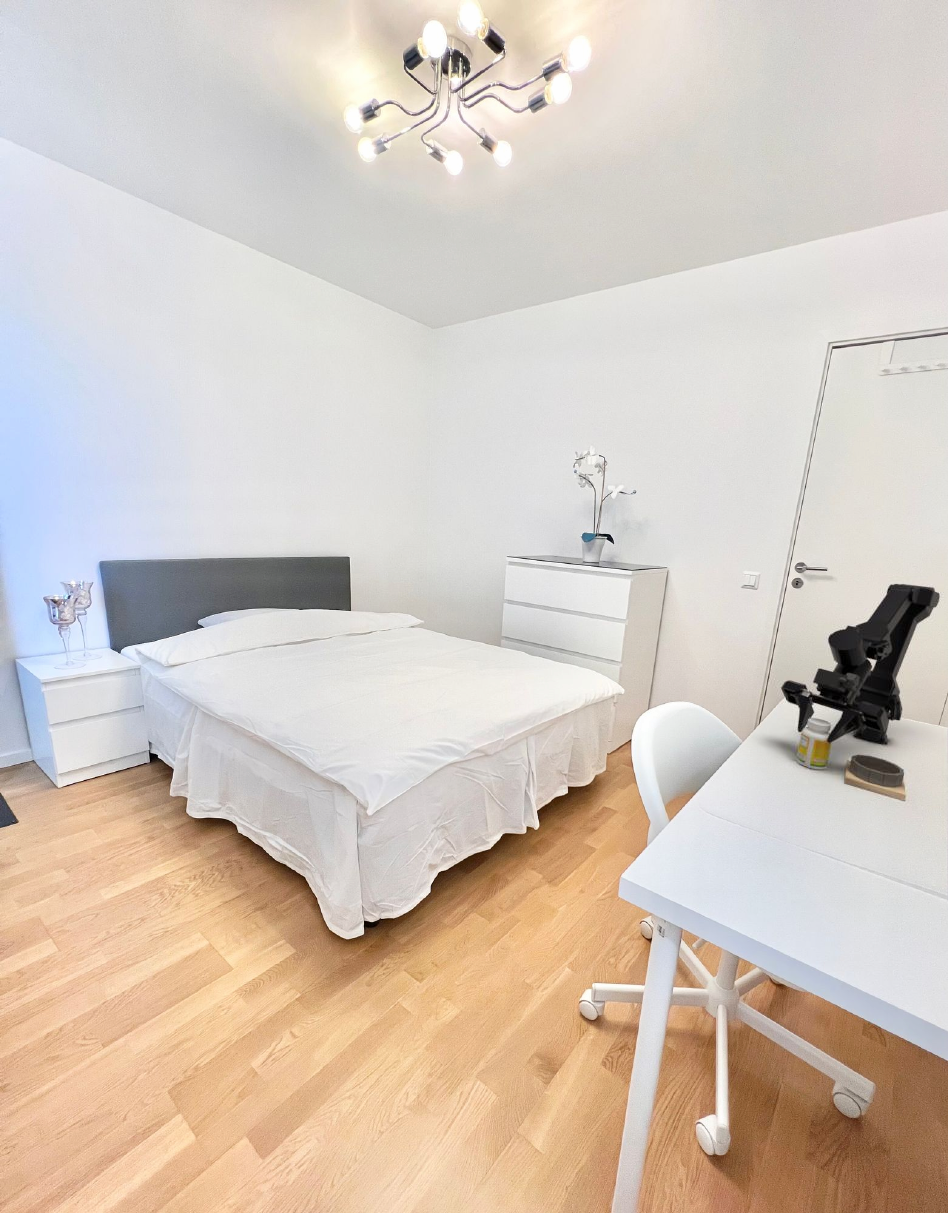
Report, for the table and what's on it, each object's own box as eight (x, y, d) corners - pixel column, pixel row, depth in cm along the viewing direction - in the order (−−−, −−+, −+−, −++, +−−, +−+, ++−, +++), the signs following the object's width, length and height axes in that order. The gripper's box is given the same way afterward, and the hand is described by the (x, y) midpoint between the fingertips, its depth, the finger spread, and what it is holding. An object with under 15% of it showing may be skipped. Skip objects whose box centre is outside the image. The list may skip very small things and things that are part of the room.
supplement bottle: (792, 762, 108) (799, 719, 106) (801, 755, 112) (809, 714, 110) (821, 773, 104) (829, 729, 102) (830, 766, 108) (838, 723, 106)
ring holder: (846, 765, 108) (849, 748, 108) (901, 780, 103) (905, 763, 102) (844, 783, 100) (847, 765, 100) (904, 800, 95) (908, 782, 94)
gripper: (792, 644, 113) (757, 699, 110) (894, 668, 98) (858, 733, 94) (804, 674, 119) (771, 727, 115) (902, 701, 104) (868, 763, 100)
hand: (813, 736), depth 106 cm, fingers closed on supplement bottle, 5 cm apart
